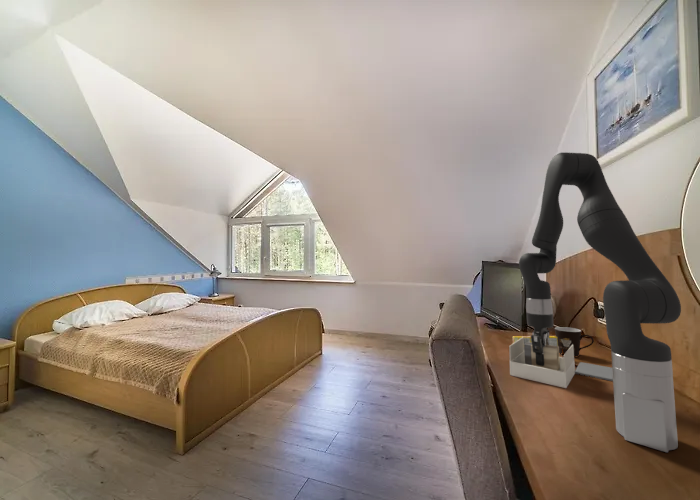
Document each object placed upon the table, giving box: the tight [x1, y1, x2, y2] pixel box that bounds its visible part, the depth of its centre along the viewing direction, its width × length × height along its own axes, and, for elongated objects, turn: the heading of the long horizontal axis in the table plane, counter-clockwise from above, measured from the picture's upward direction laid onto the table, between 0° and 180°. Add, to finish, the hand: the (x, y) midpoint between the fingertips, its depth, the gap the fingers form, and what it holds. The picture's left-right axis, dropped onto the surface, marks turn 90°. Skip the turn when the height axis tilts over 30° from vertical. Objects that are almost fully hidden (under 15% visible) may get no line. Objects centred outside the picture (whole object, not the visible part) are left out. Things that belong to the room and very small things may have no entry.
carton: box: [508, 337, 576, 389], centre depth 97 cm, size 16×15×10 cm
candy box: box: [512, 335, 558, 346], centre depth 114 cm, size 16×2×8 cm, turn 84°
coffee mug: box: [554, 326, 595, 356], centre depth 115 cm, size 12×9×10 cm
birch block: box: [524, 342, 560, 371], centre depth 97 cm, size 4×9×7 cm, turn 45°
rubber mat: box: [574, 361, 613, 382], centre depth 97 cm, size 13×13×1 cm
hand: (542, 363), depth 97 cm, fingers closed on birch block, 4 cm apart
